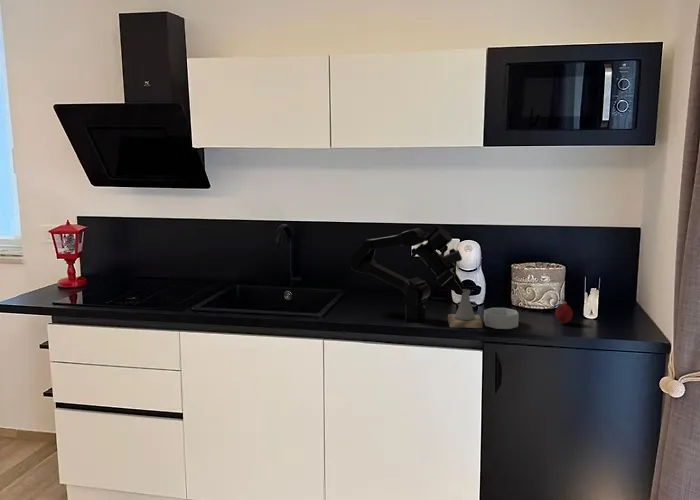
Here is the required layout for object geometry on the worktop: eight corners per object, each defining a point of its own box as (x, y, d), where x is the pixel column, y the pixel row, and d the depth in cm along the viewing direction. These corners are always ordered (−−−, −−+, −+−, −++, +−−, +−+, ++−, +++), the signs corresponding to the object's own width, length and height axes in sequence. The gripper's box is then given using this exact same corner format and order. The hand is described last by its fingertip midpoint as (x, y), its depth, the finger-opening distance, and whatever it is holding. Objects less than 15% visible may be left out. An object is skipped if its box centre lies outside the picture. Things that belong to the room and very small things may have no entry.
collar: (486, 328, 218) (487, 315, 217) (482, 319, 229) (482, 307, 229) (519, 329, 217) (520, 316, 217) (514, 320, 228) (514, 308, 228)
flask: (459, 314, 229) (460, 287, 227) (478, 317, 225) (479, 289, 223) (450, 318, 223) (451, 290, 222) (470, 322, 219) (470, 293, 217)
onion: (562, 327, 220) (563, 304, 219) (551, 322, 225) (552, 300, 224) (575, 325, 222) (577, 302, 221) (564, 321, 227) (565, 299, 226)
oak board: (450, 327, 220) (450, 321, 219) (447, 319, 230) (447, 314, 229) (482, 327, 219) (482, 322, 219) (478, 320, 229) (478, 314, 228)
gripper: (447, 246, 212) (480, 280, 212) (449, 238, 230) (479, 269, 230) (423, 268, 215) (455, 302, 215) (427, 259, 233) (457, 290, 233)
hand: (462, 290), depth 223 cm, fingers open, 9 cm apart
